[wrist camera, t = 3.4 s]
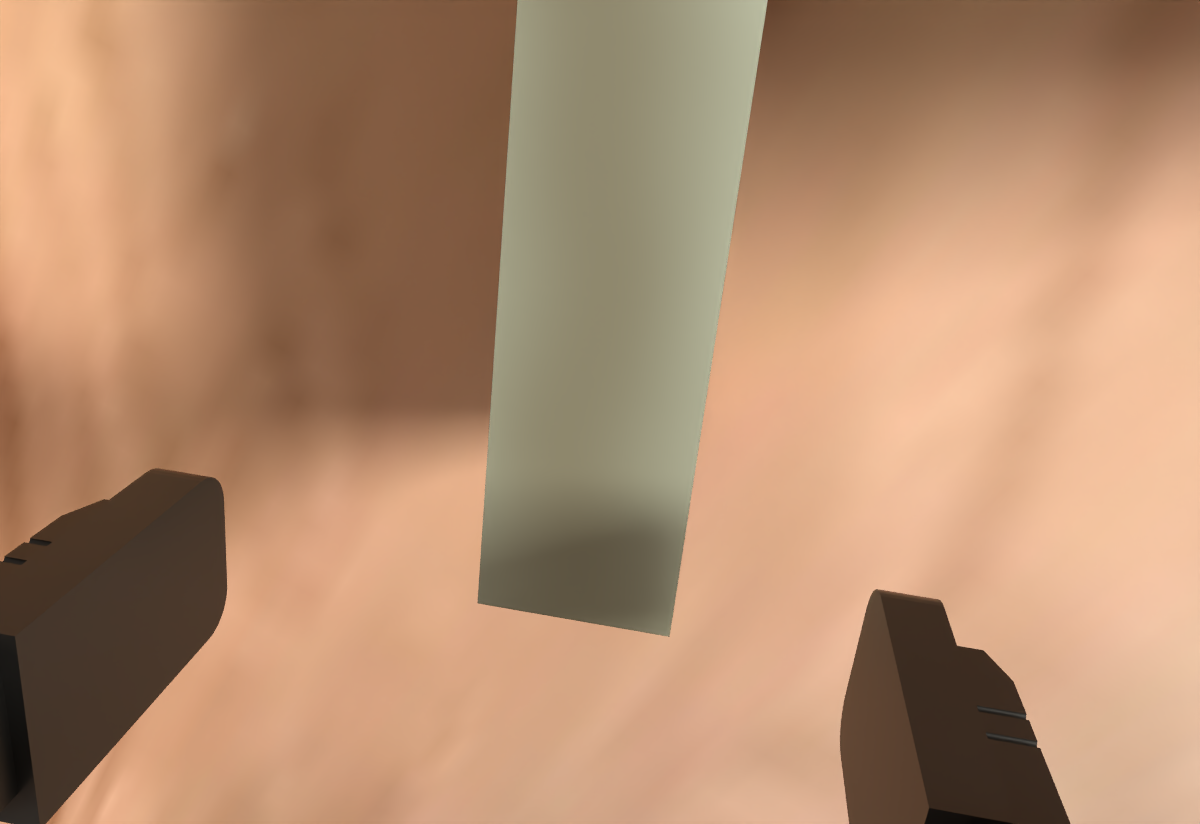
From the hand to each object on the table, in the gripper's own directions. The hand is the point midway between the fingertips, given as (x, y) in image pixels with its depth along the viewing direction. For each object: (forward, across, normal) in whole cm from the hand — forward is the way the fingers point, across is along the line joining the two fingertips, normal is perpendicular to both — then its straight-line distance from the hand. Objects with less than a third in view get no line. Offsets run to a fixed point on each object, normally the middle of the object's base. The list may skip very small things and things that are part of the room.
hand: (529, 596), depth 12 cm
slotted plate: (+13, 0, -5) cm, 14 cm away
